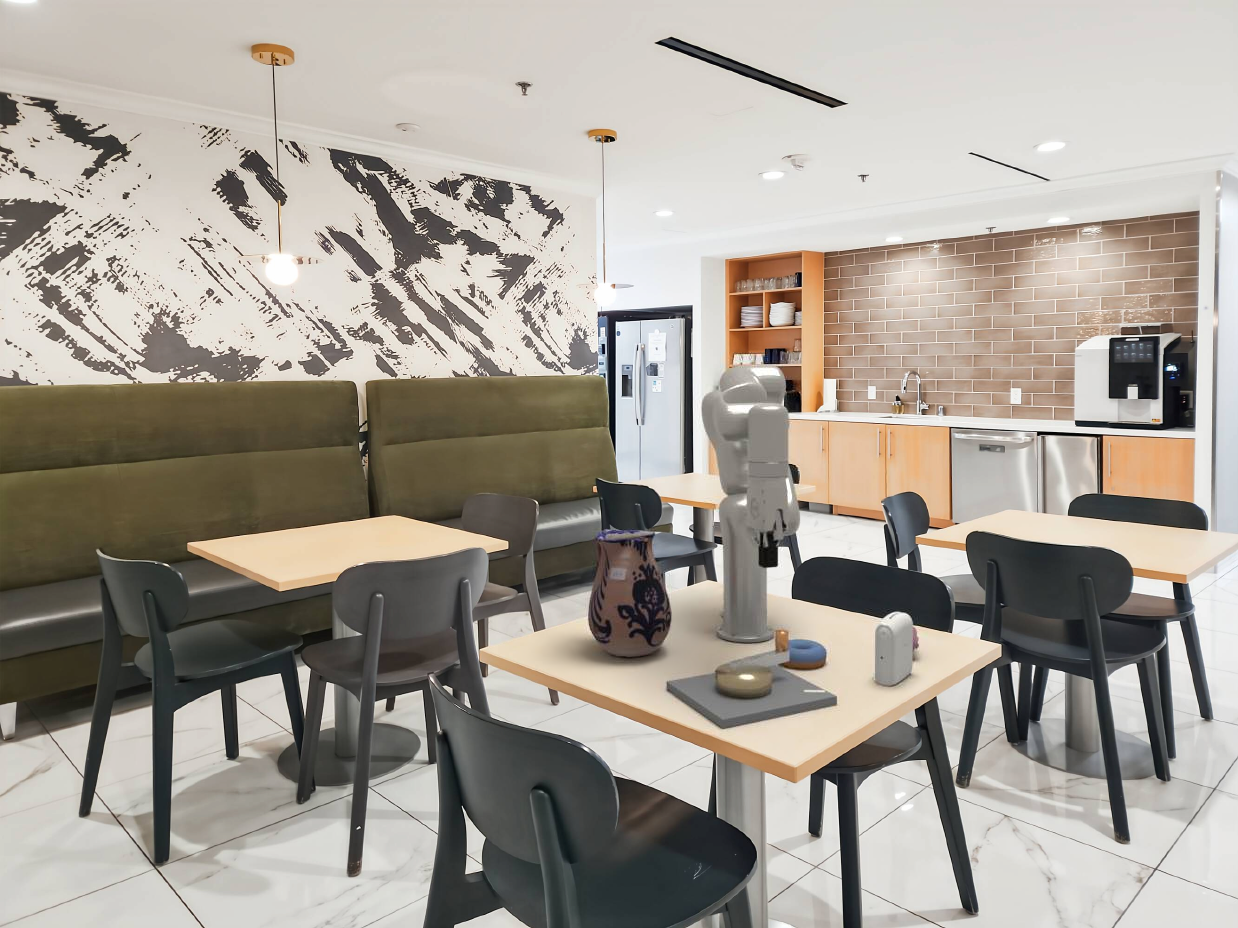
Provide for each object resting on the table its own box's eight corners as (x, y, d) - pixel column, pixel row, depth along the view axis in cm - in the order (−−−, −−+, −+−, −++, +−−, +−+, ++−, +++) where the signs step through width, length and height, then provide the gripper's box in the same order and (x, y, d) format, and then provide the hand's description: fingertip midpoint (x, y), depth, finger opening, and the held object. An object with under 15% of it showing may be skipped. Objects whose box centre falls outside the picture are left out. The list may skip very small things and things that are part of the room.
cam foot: (741, 702, 146) (741, 653, 146) (704, 685, 155) (703, 639, 154) (806, 682, 155) (806, 636, 154) (767, 667, 163) (767, 624, 163)
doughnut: (795, 672, 165) (796, 649, 165) (765, 660, 174) (766, 638, 174) (836, 669, 169) (838, 646, 169) (805, 658, 178) (806, 636, 178)
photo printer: (893, 688, 157) (894, 621, 155) (871, 682, 159) (872, 618, 158) (915, 672, 164) (916, 609, 163) (893, 668, 167) (894, 606, 166)
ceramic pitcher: (625, 671, 168) (623, 545, 166) (562, 646, 185) (559, 532, 182) (689, 652, 179) (688, 534, 177) (624, 630, 196) (622, 522, 193)
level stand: (666, 689, 158) (666, 680, 158) (771, 670, 167) (771, 661, 167) (722, 728, 140) (722, 718, 140) (836, 704, 149) (837, 694, 149)
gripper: (734, 467, 168) (734, 560, 170) (766, 475, 153) (766, 576, 155) (769, 466, 170) (770, 557, 172) (804, 473, 155) (804, 573, 157)
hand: (768, 566), depth 163 cm, fingers closed
